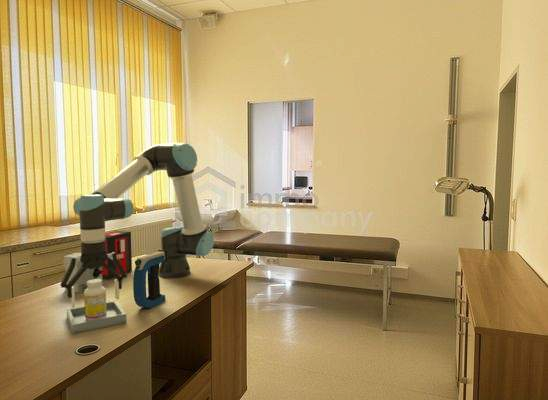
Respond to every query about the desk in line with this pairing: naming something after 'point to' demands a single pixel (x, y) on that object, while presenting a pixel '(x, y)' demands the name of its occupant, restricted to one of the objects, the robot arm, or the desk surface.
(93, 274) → the circuit breaker
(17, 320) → the desk surface
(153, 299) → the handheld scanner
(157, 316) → the desk surface
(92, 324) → the tray
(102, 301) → the supplement bottle
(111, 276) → the cleaning product box
